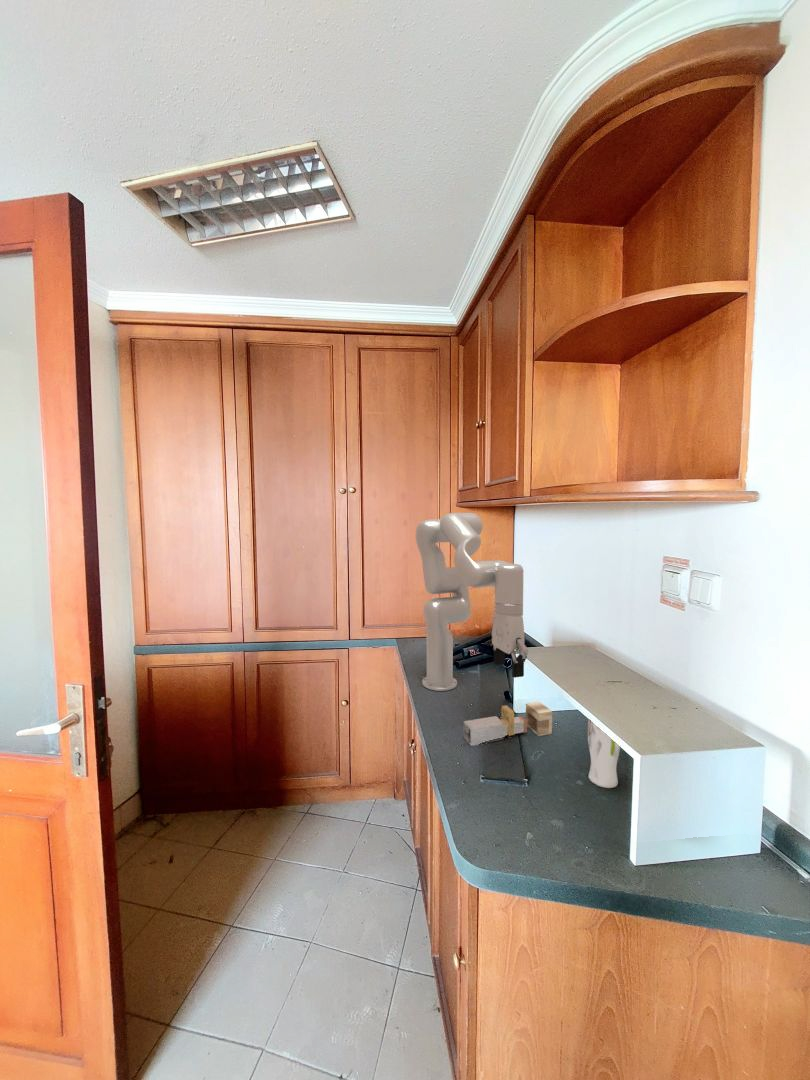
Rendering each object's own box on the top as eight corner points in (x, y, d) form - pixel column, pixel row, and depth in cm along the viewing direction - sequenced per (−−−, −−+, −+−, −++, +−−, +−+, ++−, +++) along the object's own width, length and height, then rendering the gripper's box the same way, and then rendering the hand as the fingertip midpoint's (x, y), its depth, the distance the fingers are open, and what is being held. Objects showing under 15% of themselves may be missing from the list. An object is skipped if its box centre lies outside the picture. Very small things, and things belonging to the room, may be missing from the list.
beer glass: (624, 791, 91) (626, 725, 90) (590, 787, 93) (592, 722, 92) (614, 772, 98) (616, 711, 97) (583, 769, 100) (584, 708, 99)
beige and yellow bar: (469, 735, 114) (469, 711, 114) (519, 726, 119) (520, 703, 118) (475, 743, 110) (475, 717, 110) (527, 733, 115) (528, 709, 114)
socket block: (525, 724, 121) (525, 703, 120) (538, 722, 122) (538, 701, 121) (538, 736, 114) (539, 713, 114) (551, 733, 116) (552, 711, 115)
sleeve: (463, 737, 114) (463, 721, 114) (496, 731, 117) (496, 716, 117) (471, 746, 110) (471, 729, 109) (504, 740, 112) (504, 723, 112)
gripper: (481, 603, 120) (481, 661, 121) (513, 617, 103) (512, 683, 104) (504, 601, 122) (504, 658, 123) (539, 614, 106) (538, 680, 106)
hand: (508, 670), depth 114 cm, fingers open, 9 cm apart
